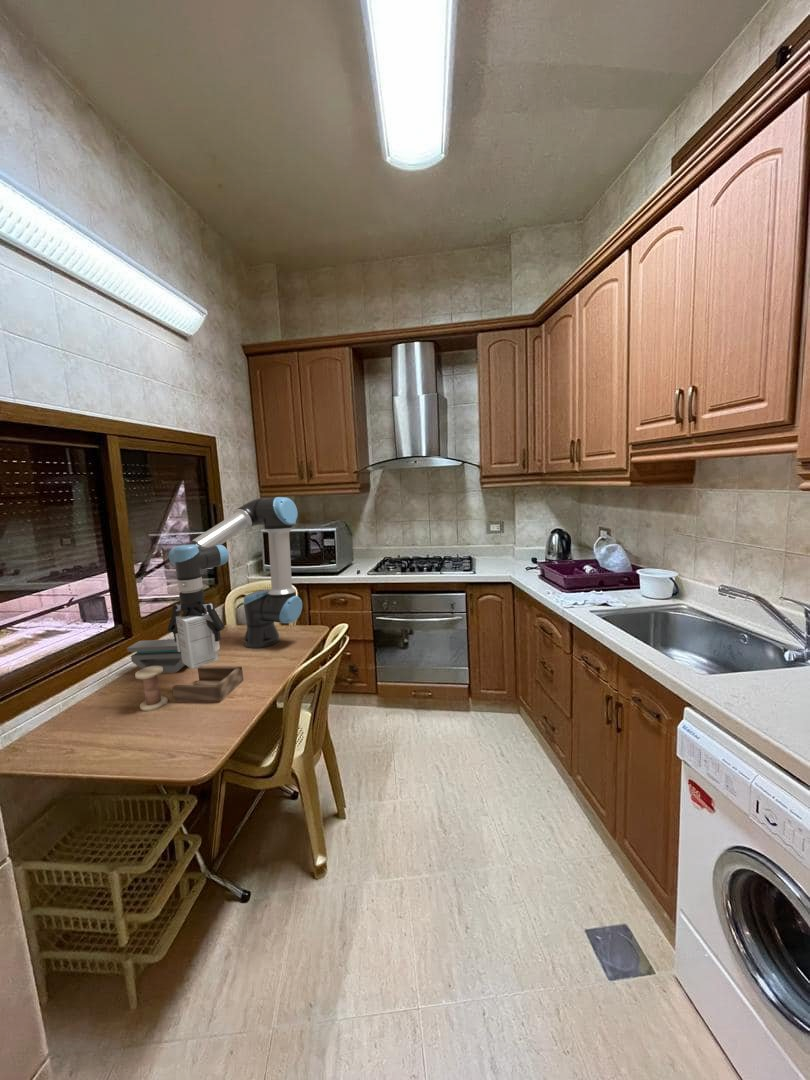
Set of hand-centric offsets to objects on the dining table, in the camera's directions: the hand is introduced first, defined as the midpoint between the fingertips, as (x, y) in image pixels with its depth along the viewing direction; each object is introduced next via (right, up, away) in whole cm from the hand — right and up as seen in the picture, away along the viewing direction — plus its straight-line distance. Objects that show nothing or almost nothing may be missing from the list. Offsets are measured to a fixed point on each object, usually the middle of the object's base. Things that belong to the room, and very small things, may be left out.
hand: (198, 650), depth 156 cm
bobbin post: (-12, -17, -6) cm, 21 cm away
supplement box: (0, -4, +1) cm, 4 cm away
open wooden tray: (+2, -15, +2) cm, 15 cm away
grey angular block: (-23, -13, +24) cm, 36 cm away
